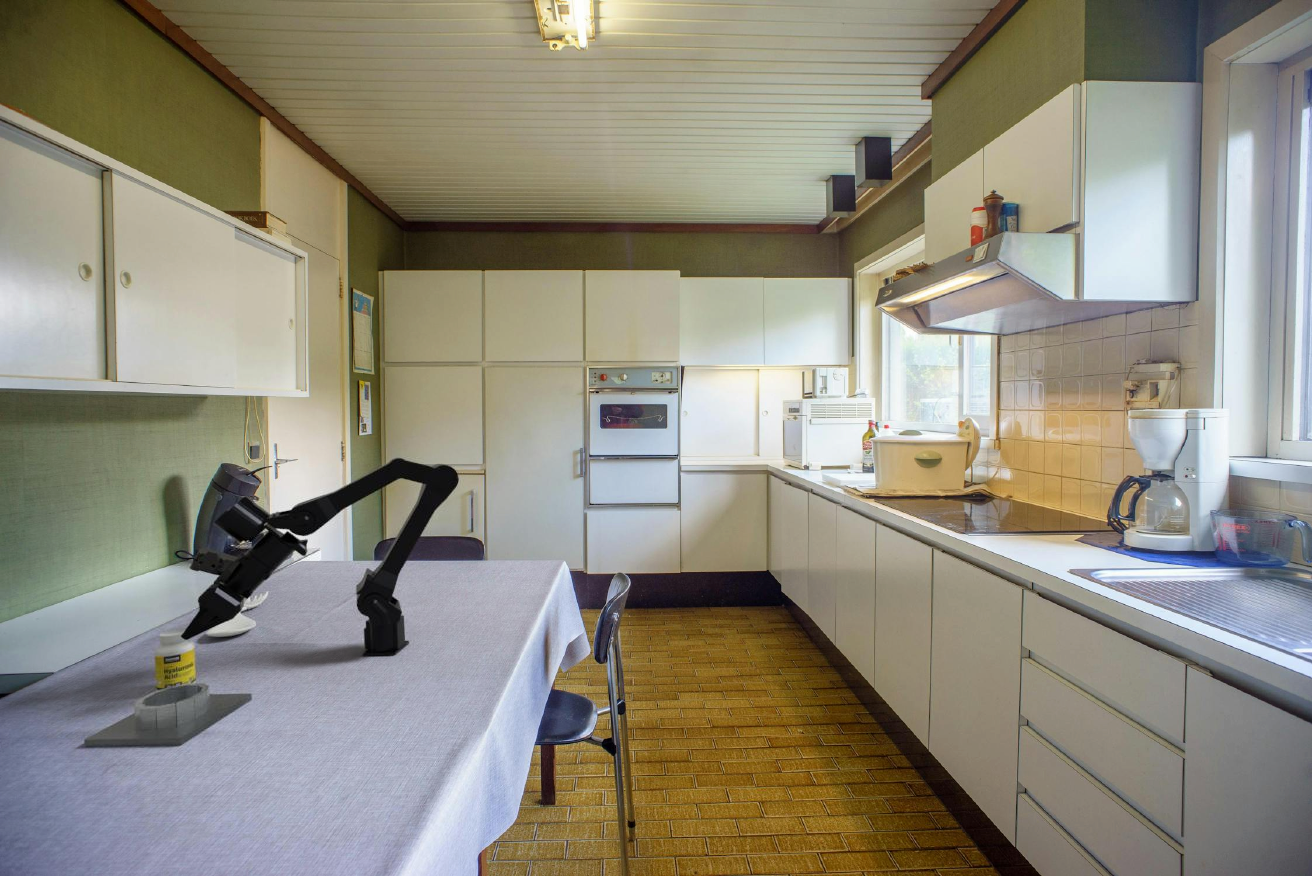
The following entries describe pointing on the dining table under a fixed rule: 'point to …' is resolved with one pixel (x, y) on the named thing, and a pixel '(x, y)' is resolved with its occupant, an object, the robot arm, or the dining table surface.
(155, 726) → the duct collar
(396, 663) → the dining table surface
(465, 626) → the dining table surface
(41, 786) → the dining table surface
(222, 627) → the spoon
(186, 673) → the supplement bottle
